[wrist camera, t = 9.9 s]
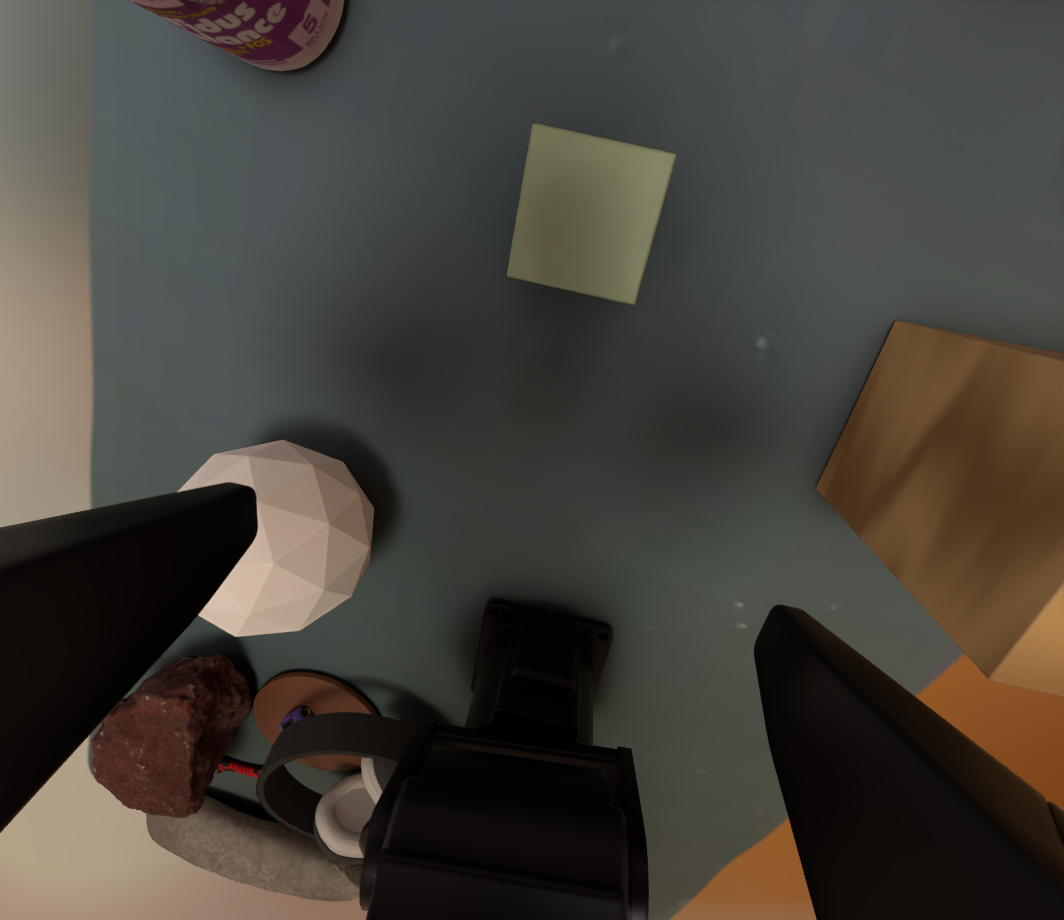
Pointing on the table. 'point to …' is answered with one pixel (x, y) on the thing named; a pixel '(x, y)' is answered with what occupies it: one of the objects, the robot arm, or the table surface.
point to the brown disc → (307, 710)
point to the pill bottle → (257, 27)
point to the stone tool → (252, 852)
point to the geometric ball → (290, 538)
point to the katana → (237, 768)
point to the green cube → (588, 213)
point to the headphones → (348, 799)
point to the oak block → (965, 492)
